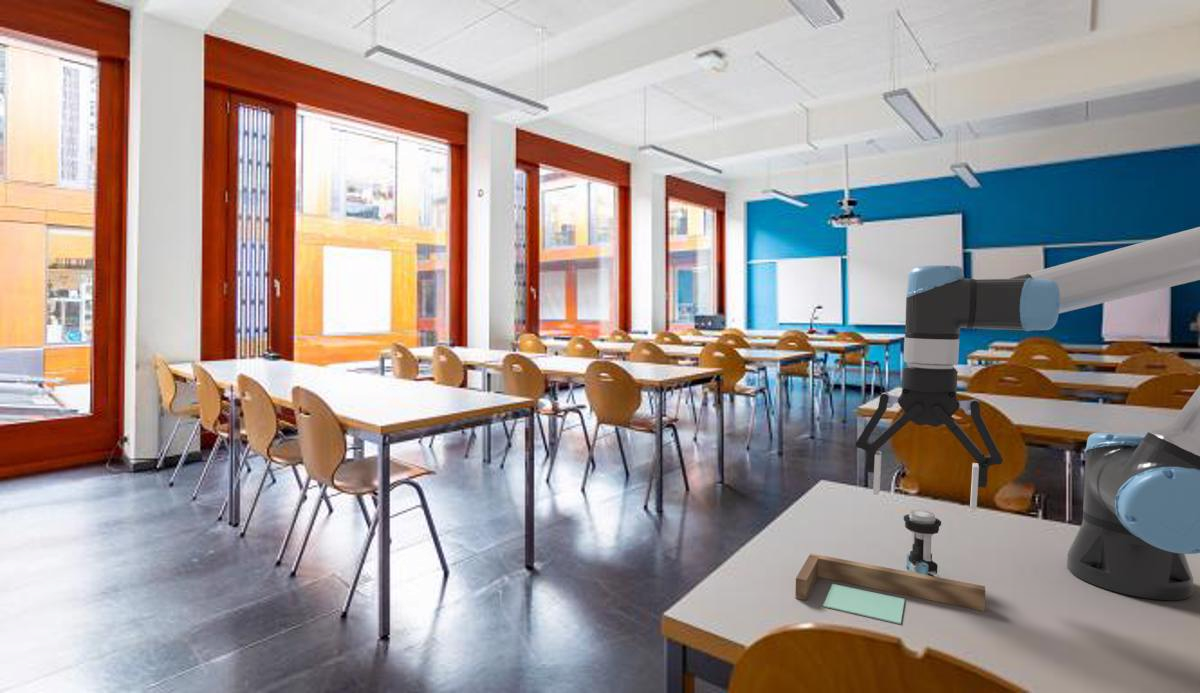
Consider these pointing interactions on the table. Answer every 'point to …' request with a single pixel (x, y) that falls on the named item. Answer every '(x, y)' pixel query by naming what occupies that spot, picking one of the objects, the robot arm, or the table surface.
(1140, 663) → the table surface
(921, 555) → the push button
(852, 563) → the wooden l-shaped wall
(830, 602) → the pad
